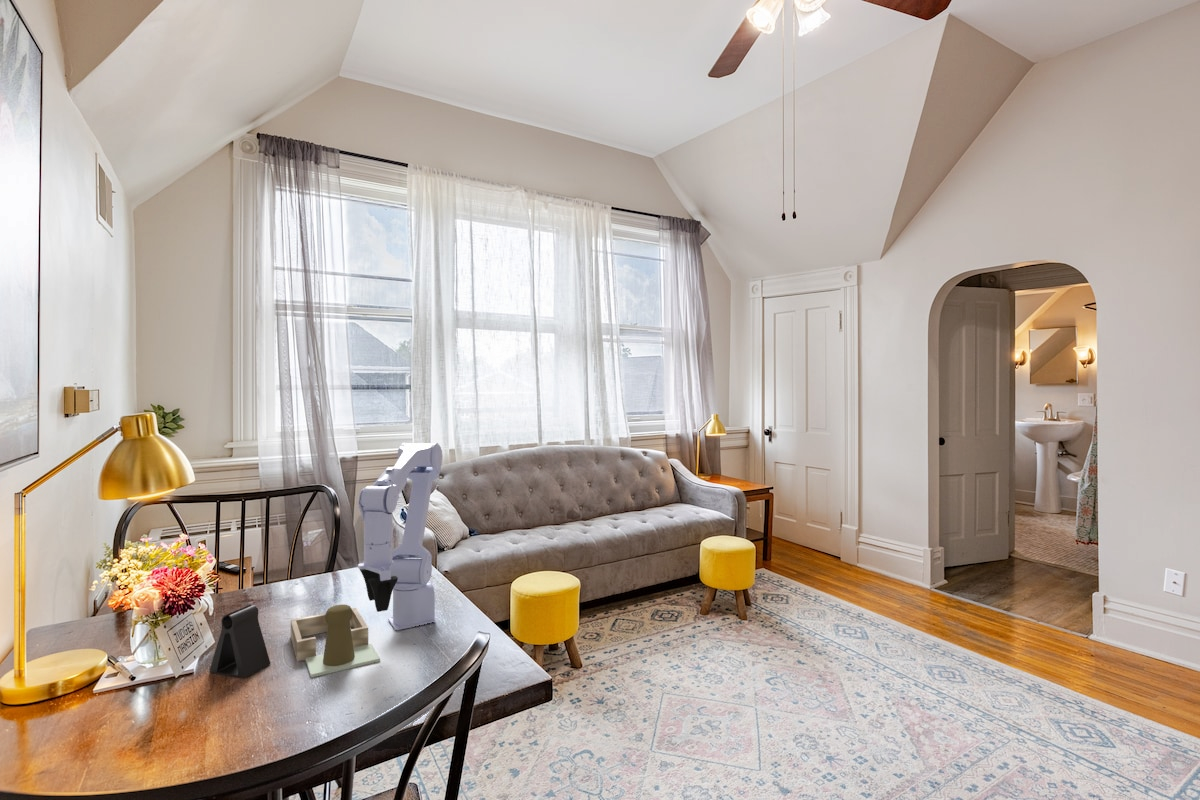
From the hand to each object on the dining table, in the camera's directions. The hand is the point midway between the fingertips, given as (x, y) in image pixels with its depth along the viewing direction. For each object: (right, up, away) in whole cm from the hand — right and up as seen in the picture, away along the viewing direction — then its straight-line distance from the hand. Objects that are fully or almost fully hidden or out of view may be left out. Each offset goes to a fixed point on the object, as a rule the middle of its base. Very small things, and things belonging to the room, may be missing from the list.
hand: (378, 604), depth 124 cm
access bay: (-13, -10, +6) cm, 18 cm away
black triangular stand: (-25, -11, -7) cm, 28 cm away
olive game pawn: (-6, -10, -4) cm, 13 cm away
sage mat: (-6, -10, -4) cm, 13 cm away
